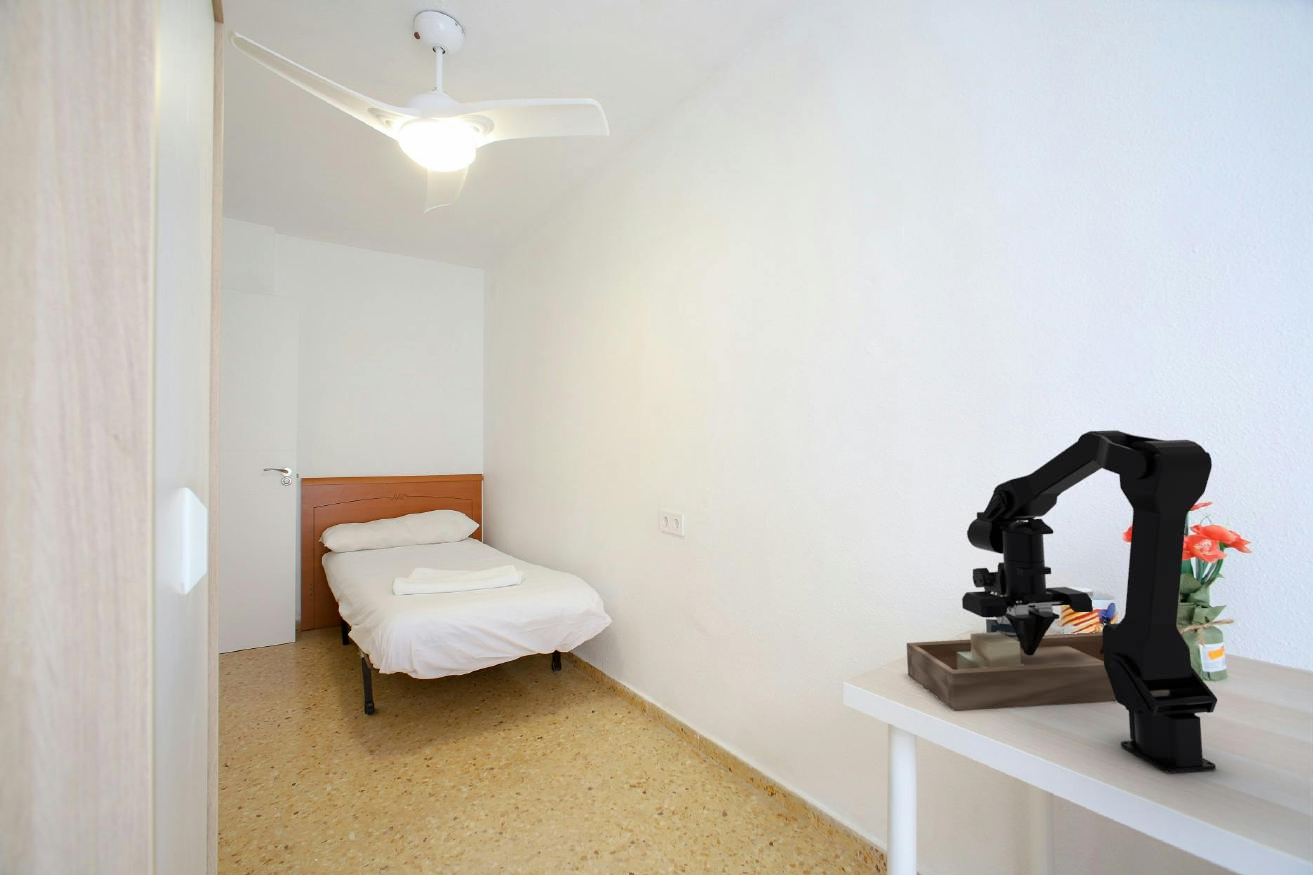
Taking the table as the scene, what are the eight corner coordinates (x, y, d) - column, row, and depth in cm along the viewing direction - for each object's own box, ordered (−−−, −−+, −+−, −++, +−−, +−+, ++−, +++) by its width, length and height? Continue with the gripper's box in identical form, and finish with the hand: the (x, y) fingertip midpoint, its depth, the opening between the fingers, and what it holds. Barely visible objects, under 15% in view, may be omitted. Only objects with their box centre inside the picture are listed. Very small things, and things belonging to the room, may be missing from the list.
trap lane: (1181, 696, 87) (1179, 660, 87) (954, 710, 85) (952, 673, 85) (1104, 663, 101) (1103, 631, 101) (908, 674, 99) (906, 642, 99)
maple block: (1021, 667, 91) (1019, 641, 91) (990, 668, 90) (989, 643, 91) (1000, 656, 96) (999, 632, 96) (971, 657, 95) (970, 633, 96)
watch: (994, 643, 113) (991, 588, 113) (984, 631, 121) (982, 579, 121) (1026, 645, 111) (1023, 589, 111) (1015, 633, 119) (1012, 580, 119)
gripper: (1041, 548, 102) (1046, 635, 102) (941, 553, 101) (945, 641, 101) (1092, 559, 91) (1098, 657, 91) (981, 565, 90) (986, 664, 90)
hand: (1028, 654), depth 93 cm, fingers closed
